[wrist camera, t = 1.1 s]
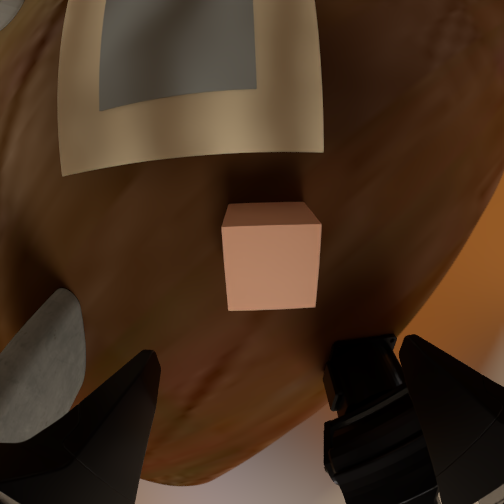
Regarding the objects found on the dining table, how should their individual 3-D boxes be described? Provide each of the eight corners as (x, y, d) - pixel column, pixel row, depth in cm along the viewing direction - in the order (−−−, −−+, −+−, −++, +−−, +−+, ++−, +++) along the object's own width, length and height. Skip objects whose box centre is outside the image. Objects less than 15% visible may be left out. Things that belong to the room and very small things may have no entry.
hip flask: (54, 282, 21) (-68, 444, 2) (89, 300, 21) (-24, 488, 3) (62, 378, 26) (7, 497, 8) (88, 391, 27) (39, 518, 9)
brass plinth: (297, -42, 10) (304, -64, 7) (311, 150, 17) (324, 152, 14) (91, -10, 10) (72, -23, 8) (85, 169, 17) (60, 177, 14)
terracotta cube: (303, 201, 18) (321, 224, 14) (301, 268, 20) (315, 307, 16) (228, 203, 18) (221, 227, 14) (233, 270, 20) (228, 310, 16)
